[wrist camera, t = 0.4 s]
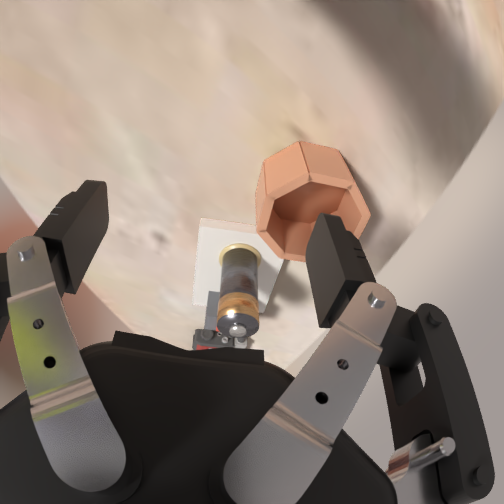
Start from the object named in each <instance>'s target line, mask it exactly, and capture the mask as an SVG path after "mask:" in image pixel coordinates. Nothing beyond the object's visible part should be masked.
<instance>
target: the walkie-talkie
mask: <svg viewBox="0 0 504 504" xmlns="http://www.w3.org/2000/svg"><path fill="white" fill-rule="evenodd" d="M221 347H234V348H244V349H245V348H246V347H247V337H244V338H234V337H229V336H226V335H224V334H222V333H221V332H219V331H212V330H209V329H196V330H195V335H194V336H193V346H192V348H193V350H202V349H212V348H221Z"/></svg>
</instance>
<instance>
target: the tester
mask: <svg viewBox="0 0 504 504" xmlns="http://www.w3.org/2000/svg"><path fill="white" fill-rule="evenodd" d="M234 248H245V249H248V250H250V251H252V252H253V253H254V254H255V255H256V257H257V266H258V303H259V313H264V311H265V308H266V305H267V303H268V300H269V298H270V295H271V292H272V290H273V287H274V284H275V282H276V279H277V276H278V274H279V271H280V269H281V266H282V263H283V260H284V259H280V258H278V257H277V255H276V254H275V253H274V252H273V251H272V250H271V249H270V247H269V246H268V245H267V244H266V243H265V242H264V240H263V239H262V238H261V237H260V236H259V235H258V234H257V231H256V225H251V224H244V223H237V222H230V221H223V220H216V219H209V218H202V217H201V221H200V226H199V235H198V245H197V255H196V265H195V276H194V287H193V299H192V305H199V306H207V307H206V316H205V326H204V329H209V330H216V331H219V330H218V328H217V314H218V302H219V294H220V282H221V270H222V258H223V256H224V254H225V253H226V252H227V251H229V250H231V249H234Z"/></svg>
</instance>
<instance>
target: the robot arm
mask: <svg viewBox="0 0 504 504" xmlns="http://www.w3.org/2000/svg"><path fill="white" fill-rule="evenodd" d="M108 223H109V212H108V198H107V185H106V182H104V181H94V180H86V181H85V182H84V183H83V184H82V185H81V186H80V188H79V189H78V190H77V191H76V192H71V193H69V194H68V195H66V196H65V197H63V198H62V199H61V200H60V201H59V203H58V204H57V205H56V208H54V209H53V210H52V211H51V213H50V215H48V217H47V218H46V219H45V221H44V222H43V223H42V224H41V226H40V227H39V228H38V230H37V231H36V233H35V234H34V235H33V236H27V237H23V238H21V239H19V240H17V241H15V242H14V243H13V244H12V245H11V246H10V248H9V249H8V251H7V253H0V341H1V338H2V336H3V334H4V331H5V329H6V326H7V324H8V322H9V319H10V323H11V328H12V333H13V338H14V343H15V347H16V352H17V356H18V360H19V364H20V368H21V372H22V375H23V379H24V383H25V386H26V389H27V390H25V391H24V392H23V393H21V394H20V395H19V396H17V397H16V398H15V399H14V400H12V401H11V402H9V403H8V404H7V405H6V406H4V407H3V408H2V409H0V504H469V503H471V502H474V501H477V500H480V499H482V498H484V497H485V496H487V495H488V494H489V492H490V491H491V489H492V487H493V484H494V478H495V476H494V475H495V473H494V467H493V461H492V457H491V452H490V448H489V443H488V439H487V434H486V430H485V427H484V423H483V419H482V415H481V412H480V408H479V405H478V401H477V398H476V395H475V392H474V388H473V385H472V382H471V379H470V376H469V373H468V370H467V367H466V364H465V361H464V359H463V356H462V353H461V351H460V348H459V345H458V343H457V340H456V337H455V335H454V332H453V330H452V327H451V326H450V323H449V320H448V318H447V316H446V315H445V314H444V313H443V312H442V310H440V309H439V308H438V307H436V306H434V305H432V304H428V303H424V304H421V305H420V306H419V308H418V309H417V310H416V311H415V312H413V311H410V310H408V309H405V308H402V307H400V306H397V303H396V299H395V297H394V296H393V294H392V293H391V292H390V291H389V290H388V289H386V288H385V287H383V286H382V285H380V284H378V283H376V280H375V278H374V275H373V273H372V270H371V268H370V265H369V263H368V261H367V259H366V256H365V253H364V251H363V249H362V246H361V244H360V242H359V240H358V239H357V238H356V237H355V236H354V234H353V233H352V232H351V231H347V230H346V228H345V226H344V224H343V221H342V219H341V217H340V216H336V215H331V214H326V213H320V214H319V215H318V217H317V220H316V223H315V225H314V228H313V231H312V233H311V236H310V239H309V241H308V244H307V248H306V254H305V259H306V265H307V269H308V274H309V279H310V284H311V288H312V293H313V298H314V303H315V308H316V313H317V318H318V324H319V328H331V329H330V331H329V333H328V334H327V335H326V337H325V338H324V340H323V341H322V342H321V344H320V345H319V347H318V348H317V349H316V351H315V352H314V353H313V355H312V356H311V358H310V359H309V360H308V362H307V363H306V364H305V366H304V367H303V368H302V370H301V371H300V372H299V374H298V375H297V376H296V378H294V377H293V376H292V375H291V374H289V373H288V372H286V371H285V370H283V369H282V368H280V367H278V366H276V365H274V364H271V363H269V362H266V361H264V350H255V349H244V348H234V347H221V348H212V349H202V350H190V351H189V350H184V349H181V348H179V347H176V346H173V345H171V344H168V343H165V342H163V341H160V340H158V339H155V338H153V337H150V336H143V335H138V334H132V333H126V332H120V331H115V334H114V338H113V341H107V342H101V343H97V344H93V345H90V346H88V347H85V348H83V349H82V350H80V349H79V346H78V344H77V341H76V338H75V336H74V333H73V330H72V328H71V325H70V322H69V320H68V317H67V314H66V311H65V308H64V305H63V302H62V299H61V298H62V296H63V294H64V292H66V293H71V294H76V292H77V290H78V288H79V286H80V283H81V281H82V279H83V277H84V275H85V273H86V271H87V269H88V267H89V265H90V263H91V261H92V259H93V257H94V255H95V253H96V251H97V249H98V247H99V245H100V243H101V241H102V239H103V237H104V236H105V234H106V231H107V228H108ZM420 362H422V365H423V369H424V373H425V377H426V382H425V386H424V388H423V385H422V381H421V377H420V373H419V369H418V366H417V365H418V364H419V363H420ZM376 364H379V365H380V369H381V374H382V379H383V384H384V389H385V394H386V399H387V404H388V410H389V416H390V422H391V428H392V435H393V441H394V448H395V452H394V453H393V454H392V456H391V457H390V460H389V465H388V468H387V469H386V471H385V472H384V471H383V470H382V469H381V468H380V467H379V466H378V465H377V464H376V463H375V462H374V461H373V460H372V459H371V458H370V457H369V456H368V455H367V454H366V453H365V452H364V451H363V450H362V449H361V448H360V447H359V446H358V445H357V444H356V443H355V442H354V440H353V439H352V438H351V437H350V436H349V435H348V434H347V433H346V432H345V431H344V430H343V429H342V427H343V426H344V424H345V422H346V420H347V419H348V417H349V415H350V413H351V412H352V410H353V408H354V406H355V404H356V402H357V400H358V399H359V397H360V395H361V393H362V391H363V389H364V387H365V385H366V383H367V381H368V379H369V377H370V375H371V373H372V371H373V369H374V367H375V365H376Z"/></svg>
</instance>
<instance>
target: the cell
mask: <svg viewBox="0 0 504 504" xmlns="http://www.w3.org/2000/svg"><path fill="white" fill-rule="evenodd" d="M217 328H218V330H219V331H220V332H221V333H222V334H224V335H226V336H229V337H234V338H244V337H249V336H251V335H253V334H255V333H256V332H257V331H258V329H259V303H258V266H257V257H256V255H255V254H254V253H253V252H252V251H250V250H248V249H245V248H234V249H231V250H229V251H227V252H226V253H225V254H224V256H223V258H222V270H221V282H220V294H219V302H218V314H217Z"/></svg>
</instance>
